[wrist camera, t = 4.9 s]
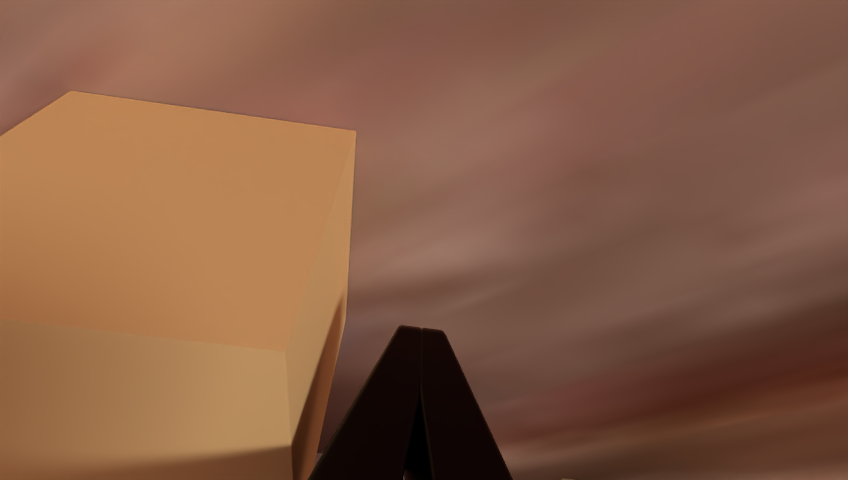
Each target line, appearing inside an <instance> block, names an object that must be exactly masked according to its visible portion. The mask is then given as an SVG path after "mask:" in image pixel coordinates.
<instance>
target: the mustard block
mask: <svg viewBox="0 0 848 480" xmlns="http://www.w3.org/2000/svg"><path fill="white" fill-rule="evenodd" d="M355 145H356V131H353V130H346V129H339V128H332V127H325V126H317V125H310V124H303V123H296V122H289V121H282V120H275V119H268V118H261V117H254V116H247V115H240V114H232V113H225V112H218V111H211V110H204V109H197V108H190V107H183V106H176V105H169V104H162V103H154V102H147V101H140V100H133V99H126V98H119V97H112V96H105V95H98V94H91V93H84V92H77V91H69V92H68V93H66V94H65V95H63V96H62V97H60V98H59V99H57V100H56V101H54V102H52V103H51V104H49V105H48V106H46V107H45V108H43V109H42V110H40V111H39V112H37V113H36V114H34V115H32V116H31V117H29V118H28V119H26V120H25V121H23V122H22V123H20V124H19V125H17V126H15V127H14V128H12V129H11V130H9V131H8V132H6V133H5V134H3V135H2V136H0V480H307V479H308V478H309V476H310V474H311V473H312V471H313V468H314V464H315V459H316V455H317V450H318V445H319V441H320V436H321V431H322V427H323V422H324V417H325V413H326V408H327V403H328V399H329V394H330V389H331V385H332V380H333V376H334V371H335V366H336V362H337V357H338V352H339V348H340V343H341V338H342V334H343V329H344V324H345V320H346V305H347V288H348V270H349V252H350V234H351V216H352V198H353V180H354V162H355Z"/></svg>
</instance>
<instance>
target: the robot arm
mask: <svg viewBox="0 0 848 480" xmlns="http://www.w3.org/2000/svg"><path fill="white" fill-rule="evenodd" d="M404 471H405V480H513V479H512V477H511V474H510V472H509V470H508V468H507V466H506V464H505V462H504V459H503V457H502V455H501V453H500V451H499V449H498V446H497V444H496V442H495V440H494V438H493V436H492V433H491V431H490V429H489V427H488V425H487V423H486V421H485V418H484V416H483V414H482V412H481V410H480V408H479V405H478V403H477V401H476V399H475V397H474V395H473V393H472V390H471V388H470V386H469V384H468V382H467V380H466V377H465V375H464V373H463V371H462V369H461V367H460V364H459V362H458V360H457V358H456V356H455V354H454V352H453V349H452V347H451V345H450V343H449V341H448V339H447V336H446V335H445V333H444V332H443V331H442V330H437V329H429V328H422V329H421V328H419V327H412V326H404V325H401V326H399V327H398V328H397V330H396V331H395V333H394V335H393V337H392V338H391V340H390V342H389V343H388V345H387V347H386V348H385V350H384V352H383V353H382V355H381V357H380V358H379V360H378V362H377V363H376V365H375V367H374V368H373V370H372V372H371V373H370V375H369V377H368V378H367V380H366V382H365V384H364V385H363V387H362V389H361V390H360V392H359V394H358V395H357V397H356V399H355V400H354V402H353V404H352V405H351V407H350V409H349V410H348V412H347V414H346V415H345V417H344V419H343V420H342V422H341V424H340V426H339V427H338V429H337V431H336V432H335V434H334V436H333V437H332V439H331V441H330V442H329V444H328V446H327V447H326V449H325V451H324V452H323V454H322V456H321V457H320V459H319V461H318V462H317V464H316V466H315V468H314V469H313V471H312V473H311V474H310V476H309V478H308V479H307V480H403V476H404Z"/></svg>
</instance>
